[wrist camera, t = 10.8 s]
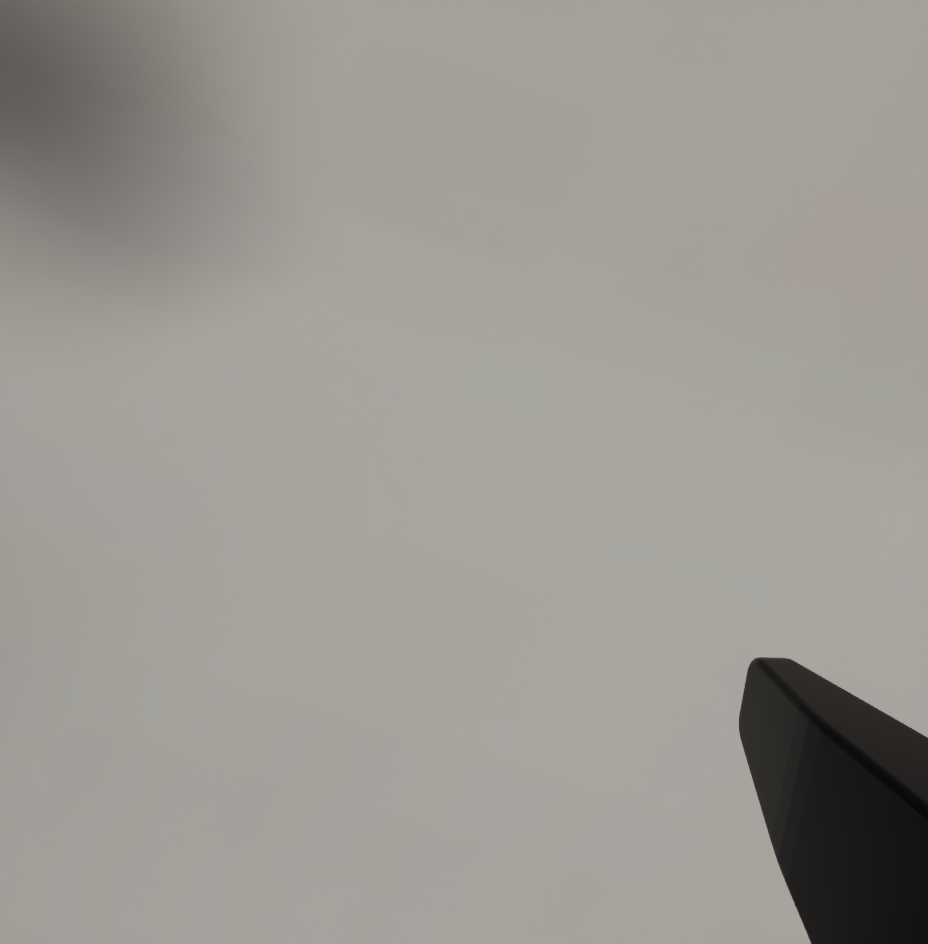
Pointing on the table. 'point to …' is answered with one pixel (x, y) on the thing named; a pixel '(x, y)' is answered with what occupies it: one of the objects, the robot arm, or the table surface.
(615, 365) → the table surface
